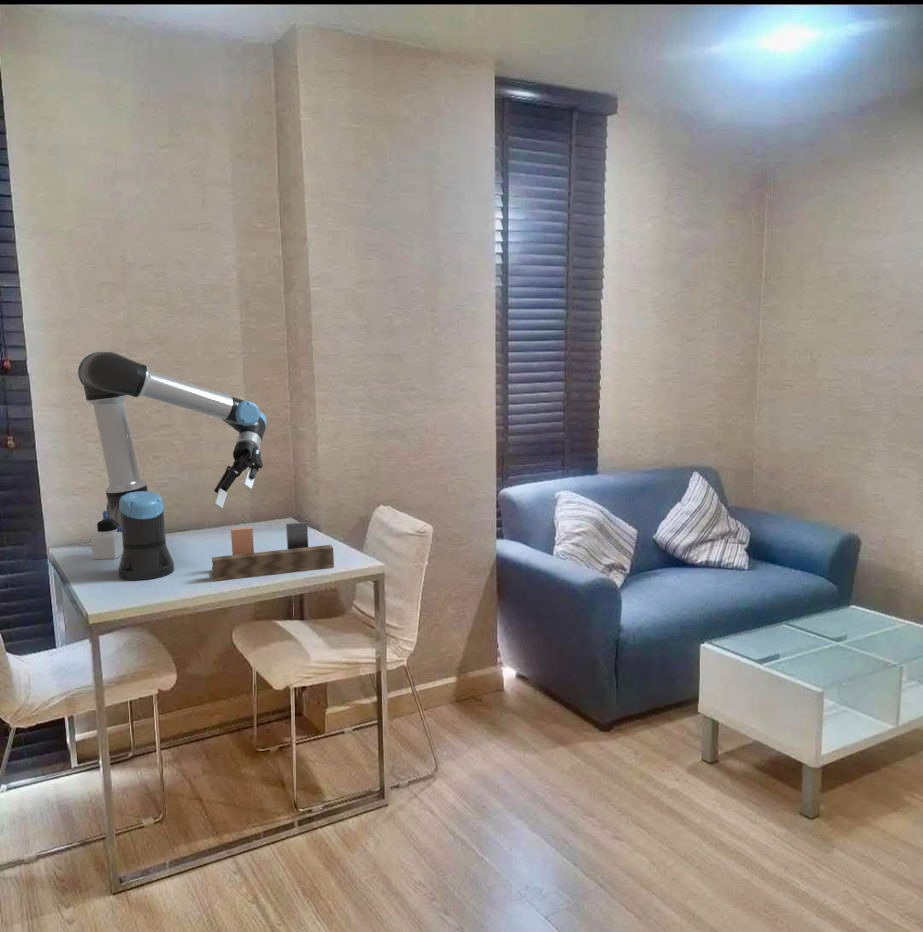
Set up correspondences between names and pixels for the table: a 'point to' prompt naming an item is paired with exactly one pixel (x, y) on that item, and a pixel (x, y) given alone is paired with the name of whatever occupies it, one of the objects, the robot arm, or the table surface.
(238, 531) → the terracotta key
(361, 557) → the table surface
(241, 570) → the brown piece
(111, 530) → the medicine bottle
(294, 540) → the grey rectangular slab
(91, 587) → the table surface
